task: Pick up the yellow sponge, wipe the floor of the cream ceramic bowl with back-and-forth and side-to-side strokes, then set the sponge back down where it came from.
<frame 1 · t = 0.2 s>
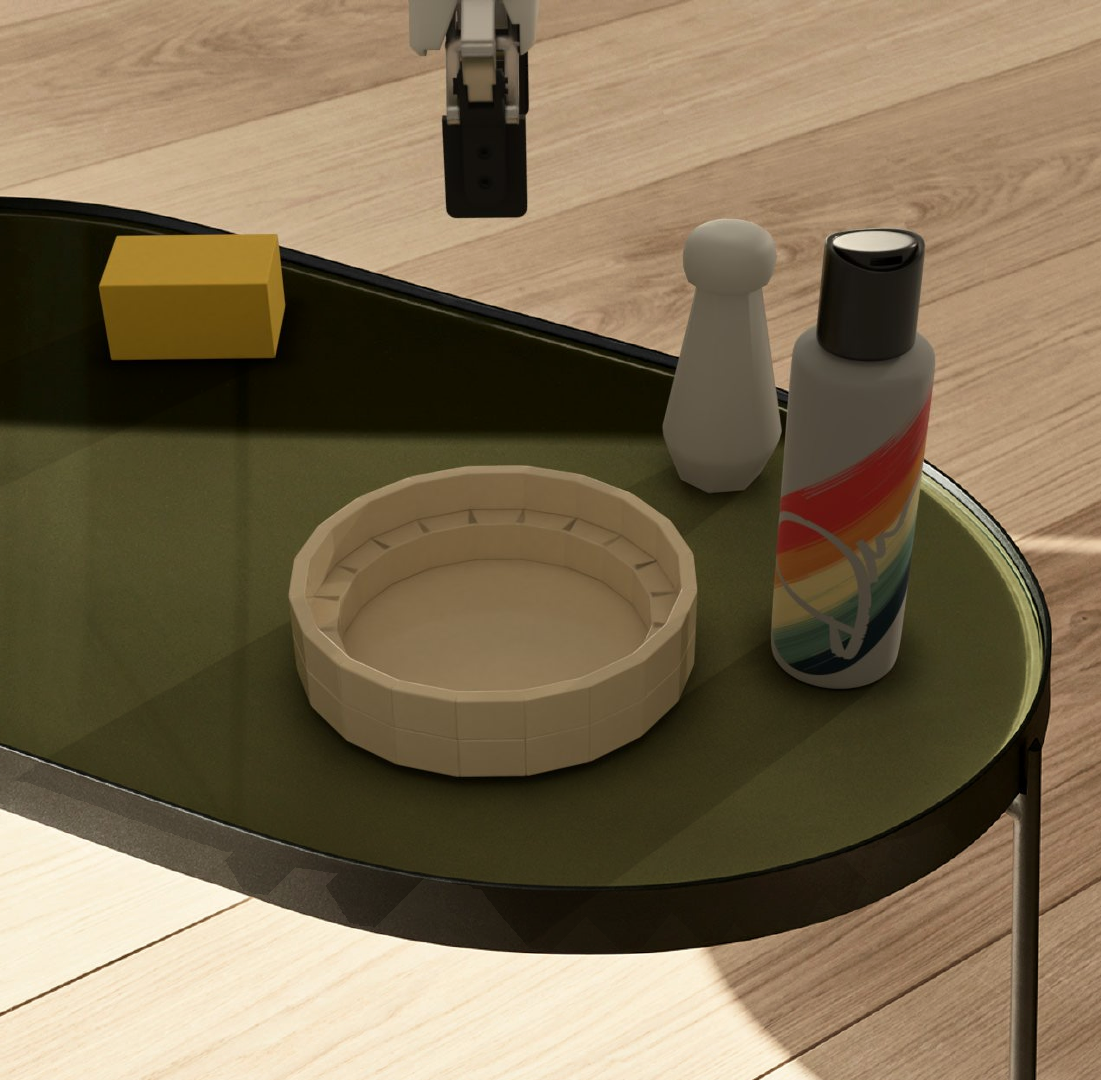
hand: (489, 162, 83), 19 cm above the table, tool pointing down, fingers open, 9 cm apart
sponge: (200, 333, 112), on the table
bowl: (496, 656, 89), on the table
salt shaker: (719, 474, 100), on the table
striped bottle: (833, 655, 89), on the table
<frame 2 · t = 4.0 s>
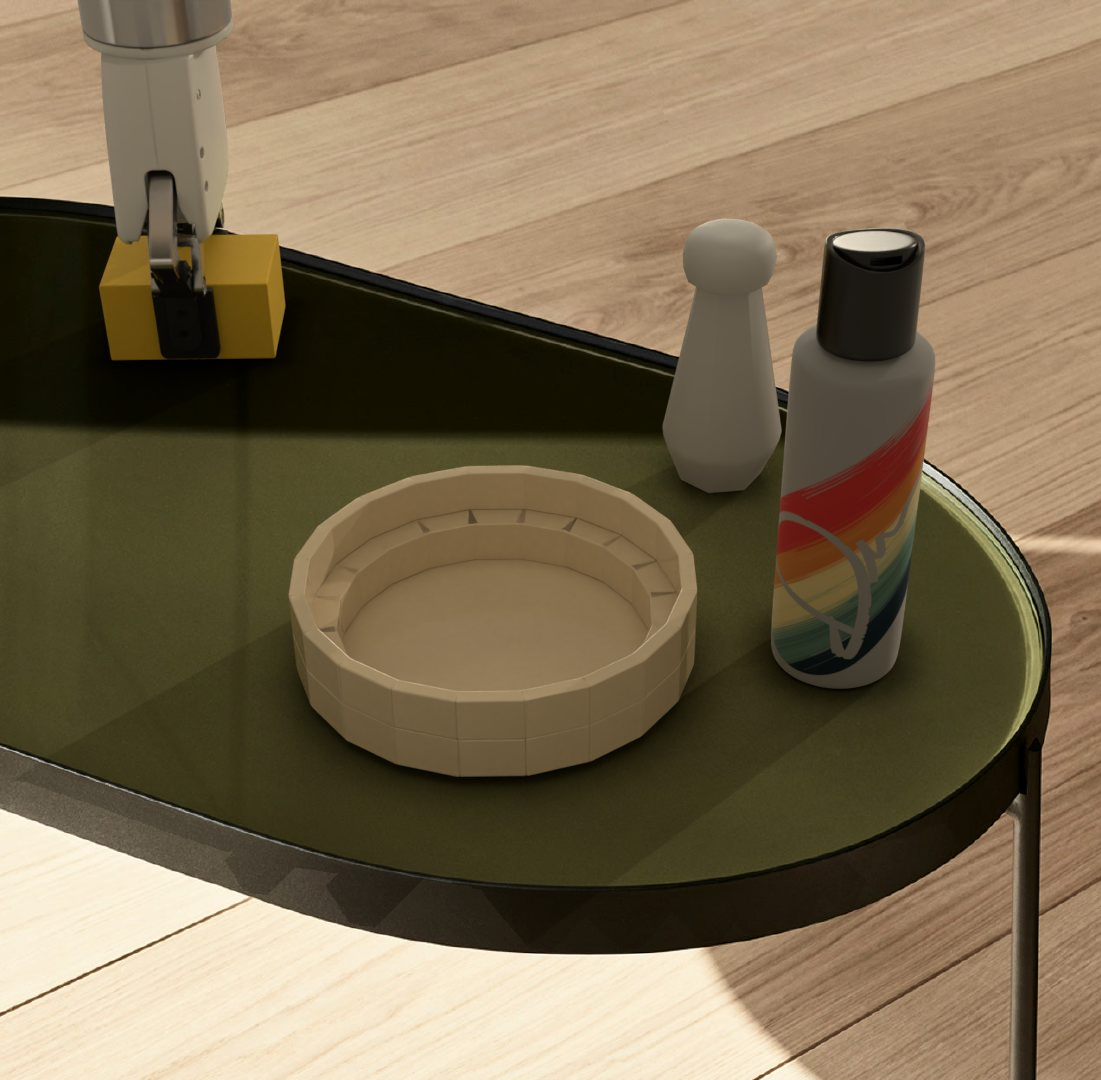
hand: (199, 323, 111), 1 cm above the table, tool pointing down, fingers closed on sponge, 6 cm apart
sponge: (200, 333, 112), on the table, touching gripper
everything else where it was.
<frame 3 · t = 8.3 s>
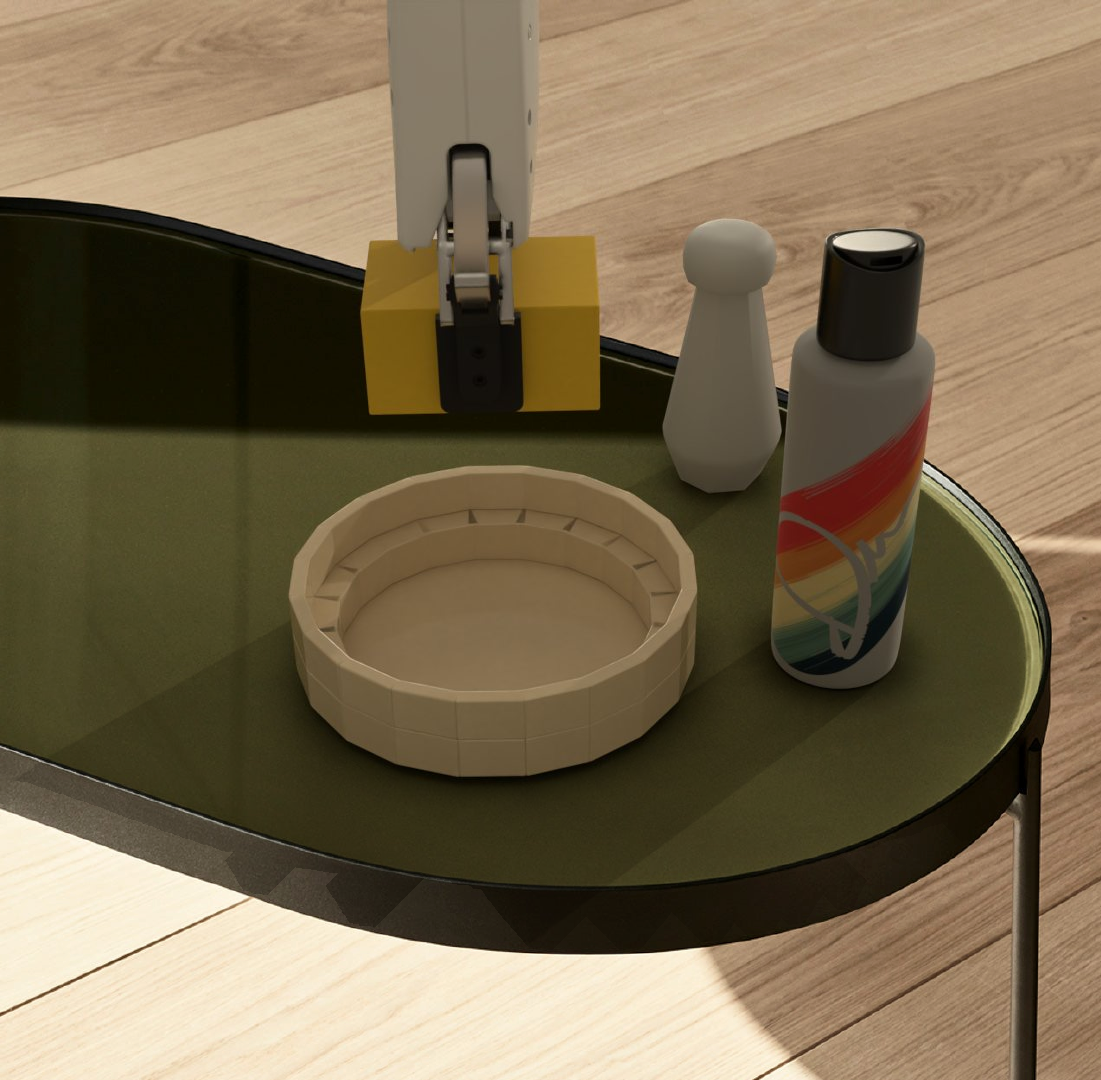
hand: (483, 361, 80), 15 cm above the table, tool pointing down, fingers closed on sponge, 6 cm apart
sponge: (485, 374, 80), point 14 cm above the table, touching gripper
everything else where it was.
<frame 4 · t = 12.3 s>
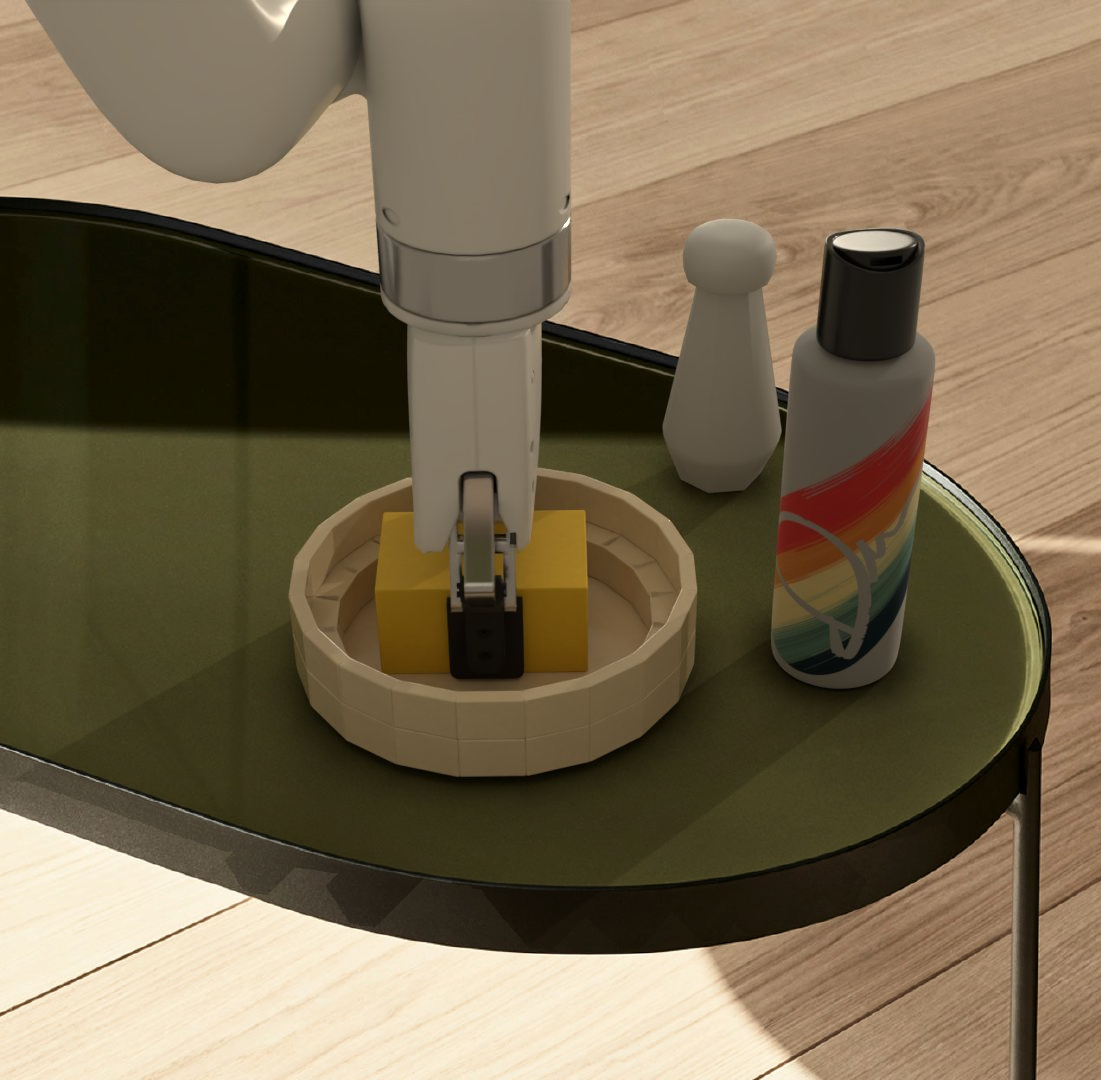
hand: (489, 625, 89), 1 cm above the table, tool pointing down, fingers closed on sponge, 6 cm apart
sponge: (486, 632, 89), point 1 cm above the table, touching gripper
everything else where it was.
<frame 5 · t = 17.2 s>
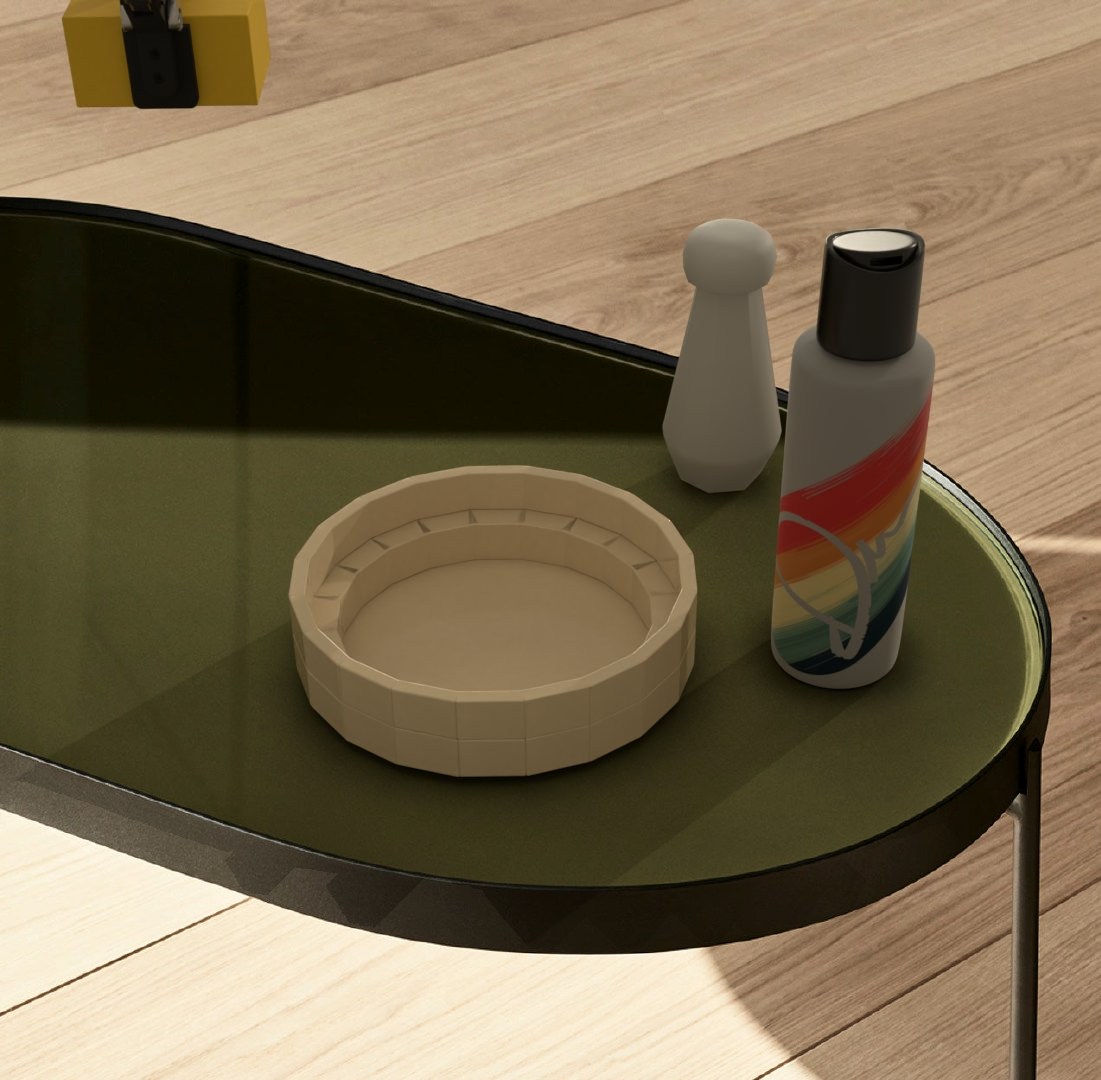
hand: (176, 76, 101), 15 cm above the table, tool pointing down, fingers closed on sponge, 6 cm apart
sponge: (176, 83, 101), point 15 cm above the table, touching gripper
everything else where it was.
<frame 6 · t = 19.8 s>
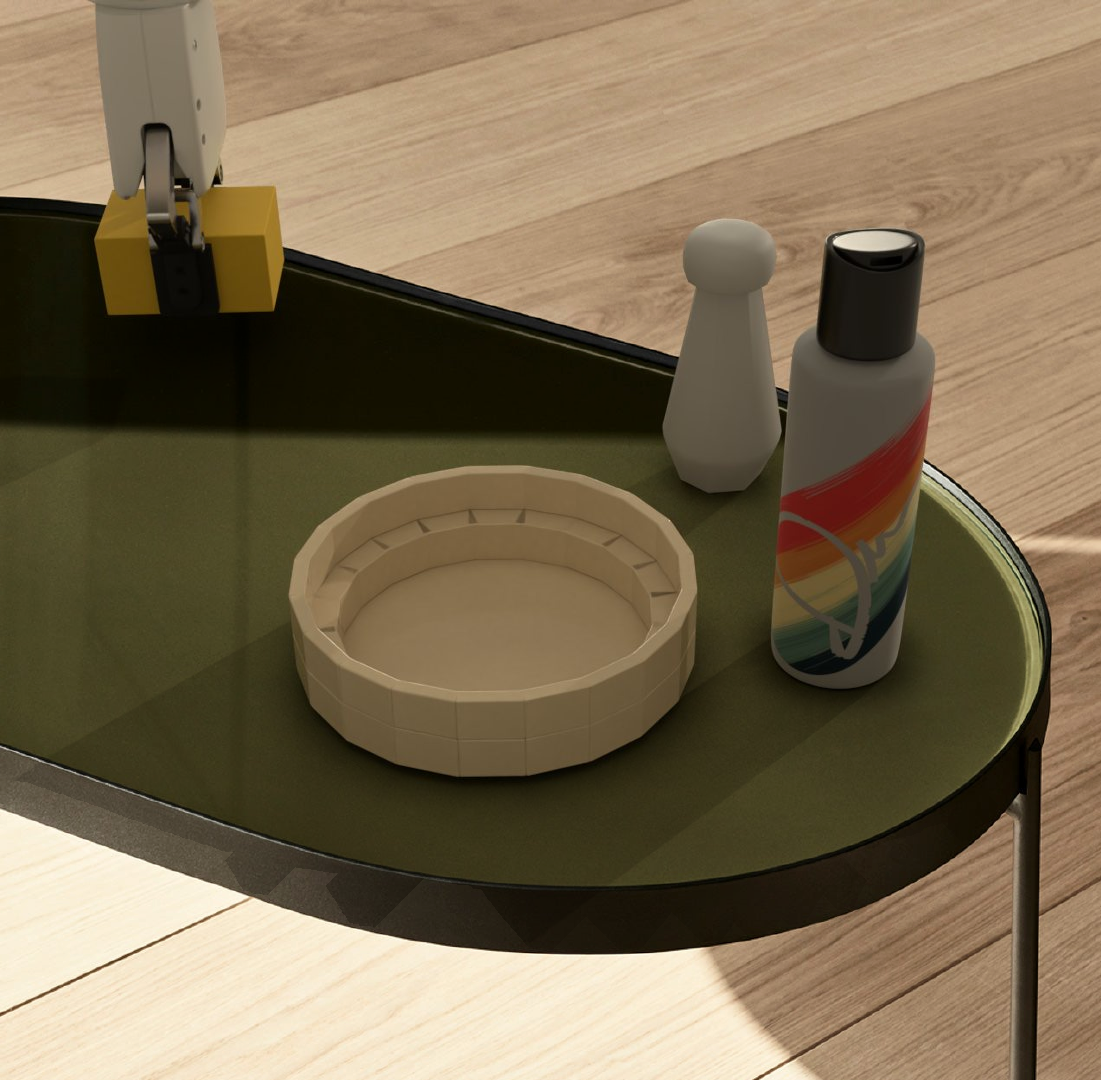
hand: (198, 281, 110), 3 cm above the table, tool pointing down, fingers closed on sponge, 6 cm apart
sponge: (197, 287, 110), point 3 cm above the table, touching gripper
everything else where it was.
when the fingers open (0 cm above the table, at t = 21.1 s): sponge stays where it is, on the table.
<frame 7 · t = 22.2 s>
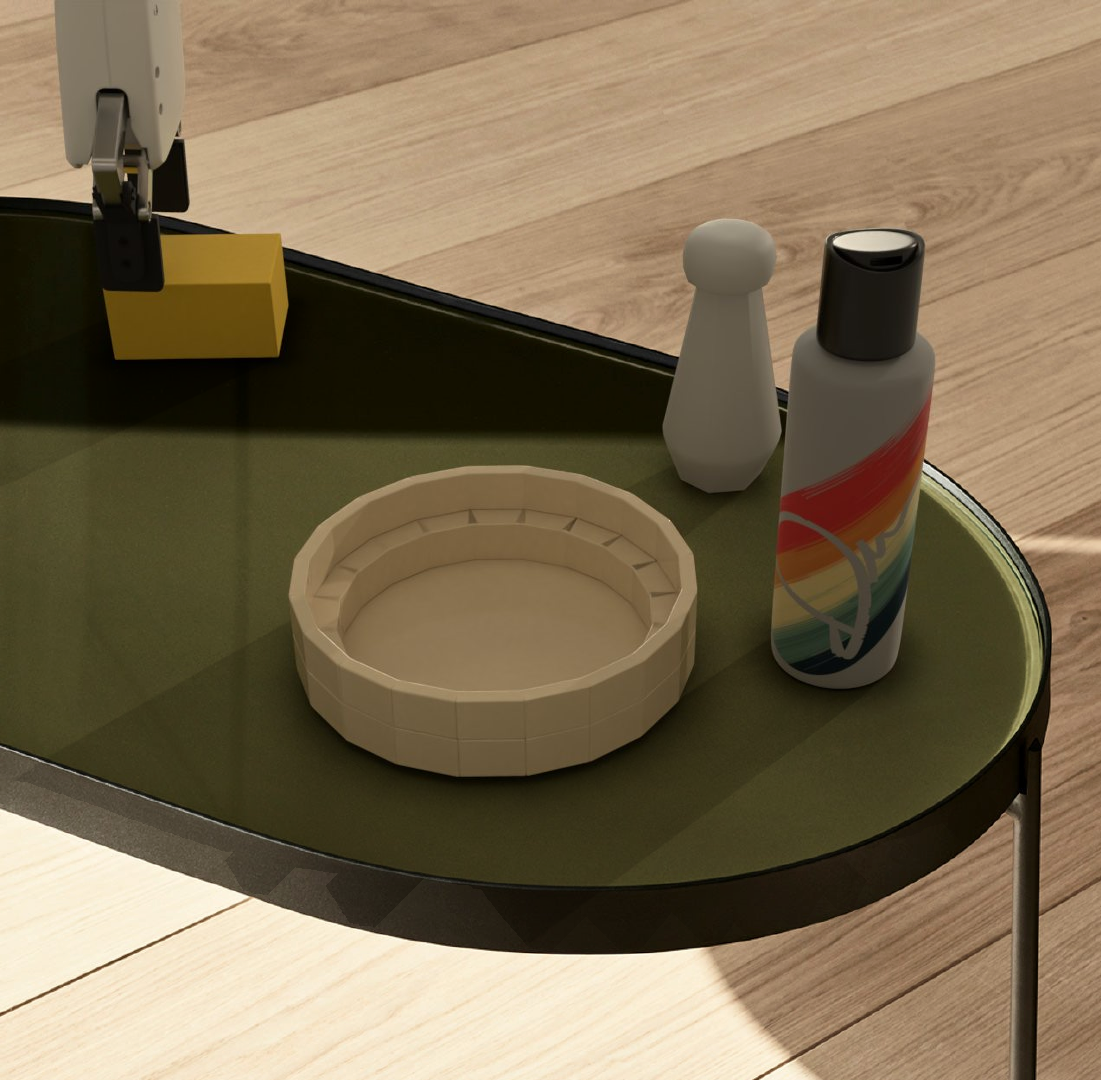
hand: (147, 248, 106), 6 cm above the table, tool pointing down, fingers open, 9 cm apart
sponge: (203, 332, 112), on the table
everything else where it was.
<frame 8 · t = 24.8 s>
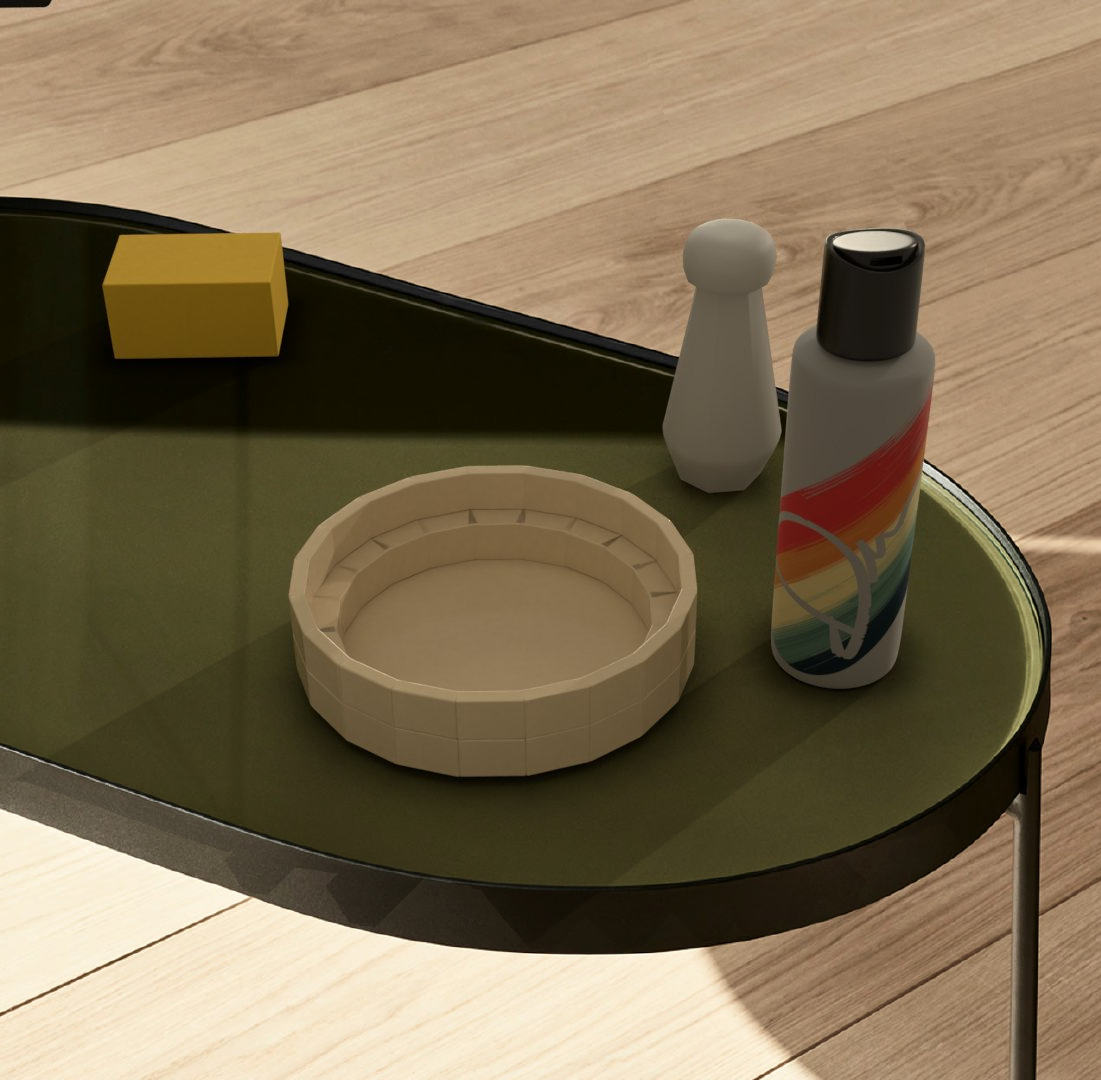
nothing on the table moved.
at the end: sponge inside the target area (0.2 cm from its centre), on the table; the gripper is holding nothing; bowl moved 0.0 cm from its start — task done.
